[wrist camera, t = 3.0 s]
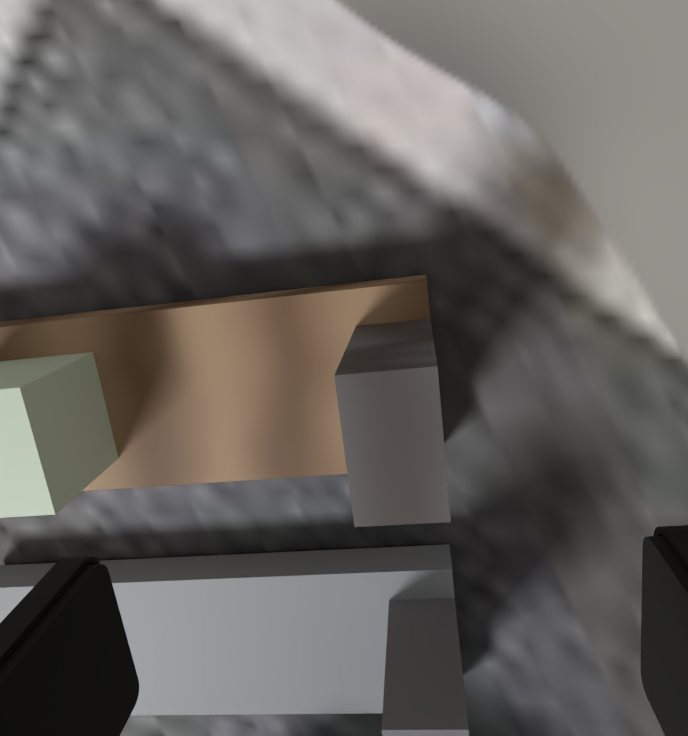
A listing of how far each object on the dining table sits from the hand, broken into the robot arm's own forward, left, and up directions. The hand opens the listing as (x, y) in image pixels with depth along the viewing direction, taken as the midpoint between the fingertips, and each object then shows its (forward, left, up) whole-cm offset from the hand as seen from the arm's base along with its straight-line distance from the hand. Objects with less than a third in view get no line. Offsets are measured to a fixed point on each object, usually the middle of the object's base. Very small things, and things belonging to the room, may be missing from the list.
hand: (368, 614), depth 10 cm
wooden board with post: (+10, 0, -17) cm, 20 cm away
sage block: (+15, 0, -15) cm, 21 cm away
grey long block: (+10, +13, -17) cm, 24 cm away
